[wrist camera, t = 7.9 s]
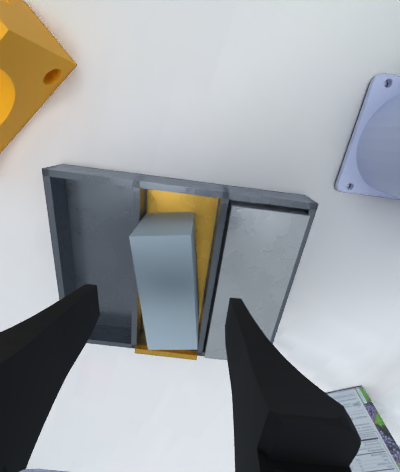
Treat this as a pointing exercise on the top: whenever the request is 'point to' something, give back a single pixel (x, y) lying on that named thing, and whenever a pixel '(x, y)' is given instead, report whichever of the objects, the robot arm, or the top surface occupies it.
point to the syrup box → (369, 433)
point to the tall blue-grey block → (167, 279)
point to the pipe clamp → (26, 66)
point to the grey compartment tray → (207, 247)
